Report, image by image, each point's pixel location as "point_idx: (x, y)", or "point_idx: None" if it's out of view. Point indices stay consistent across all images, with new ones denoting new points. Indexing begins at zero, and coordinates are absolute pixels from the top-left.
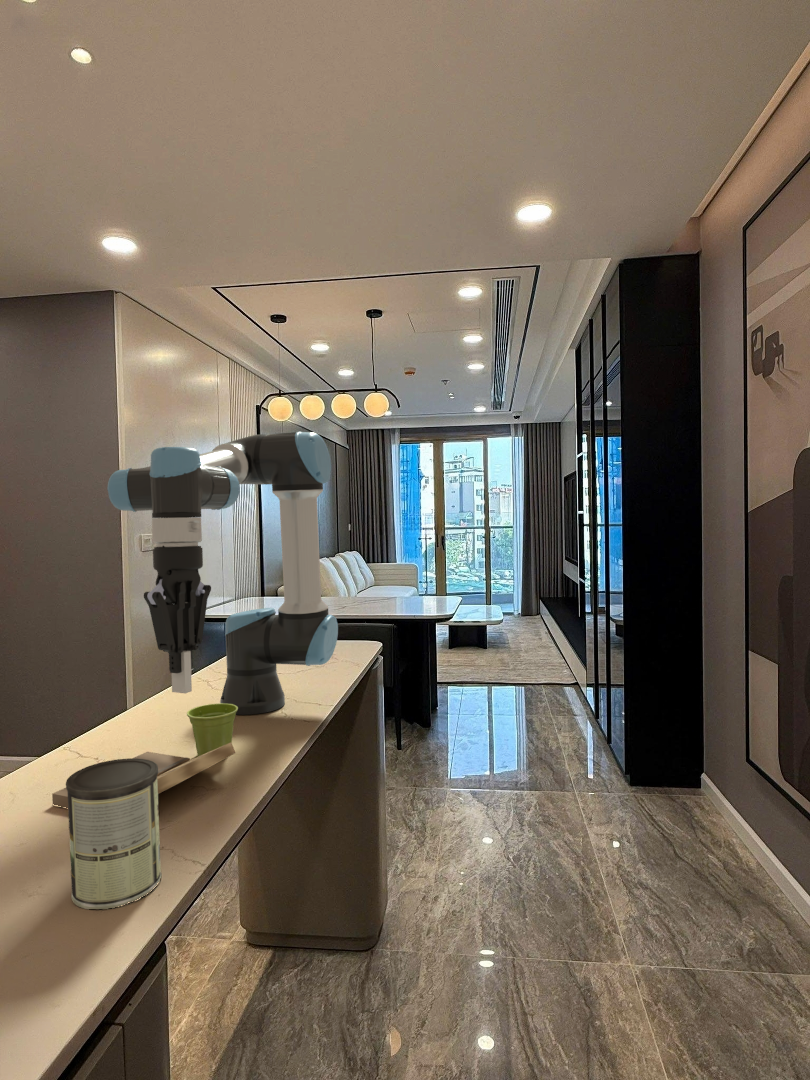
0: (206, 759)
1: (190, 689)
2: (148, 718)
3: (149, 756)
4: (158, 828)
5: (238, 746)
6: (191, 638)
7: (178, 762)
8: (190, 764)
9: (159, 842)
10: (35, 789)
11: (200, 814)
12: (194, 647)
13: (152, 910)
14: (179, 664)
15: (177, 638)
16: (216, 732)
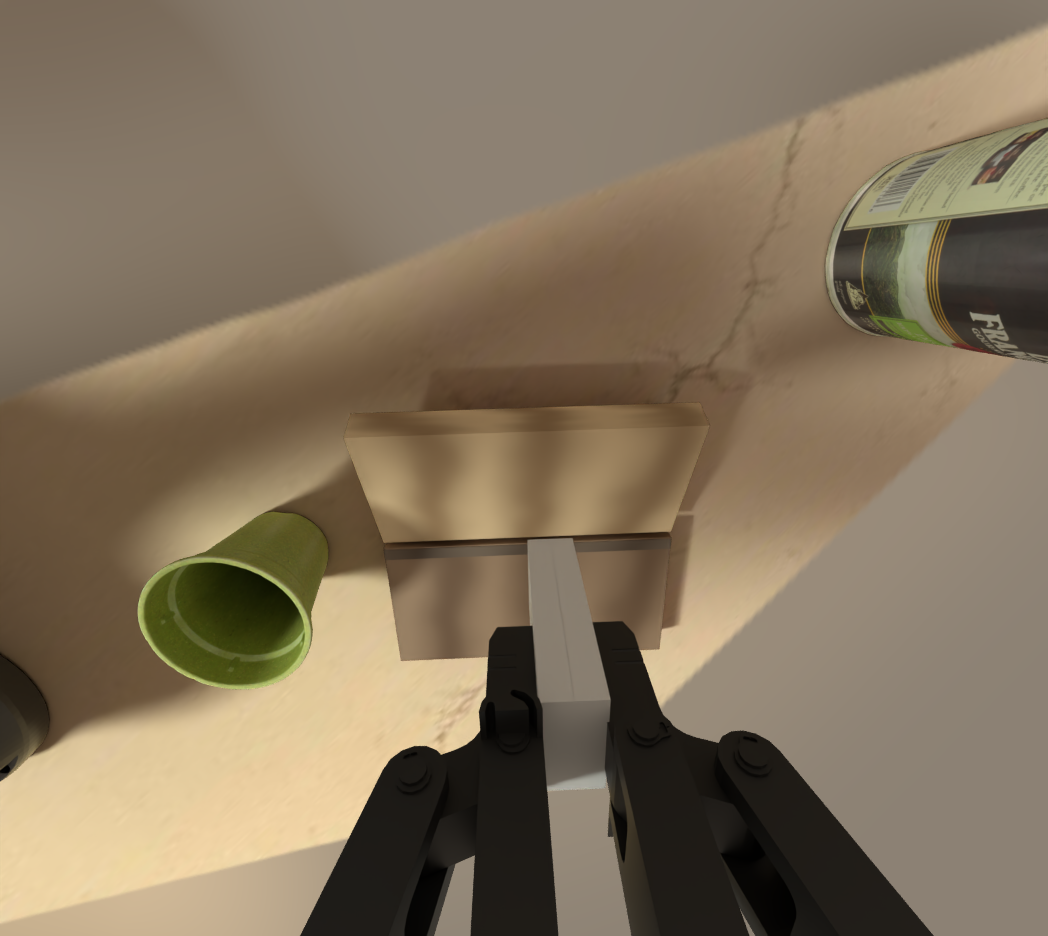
0: (471, 424)
1: (535, 545)
2: (207, 823)
3: (421, 636)
4: (984, 145)
5: (206, 532)
6: (518, 805)
7: (419, 552)
8: (536, 427)
9: (938, 161)
10: None
11: (585, 324)
12: (524, 706)
13: (990, 89)
14: (612, 657)
15: (708, 831)
16: (283, 552)
